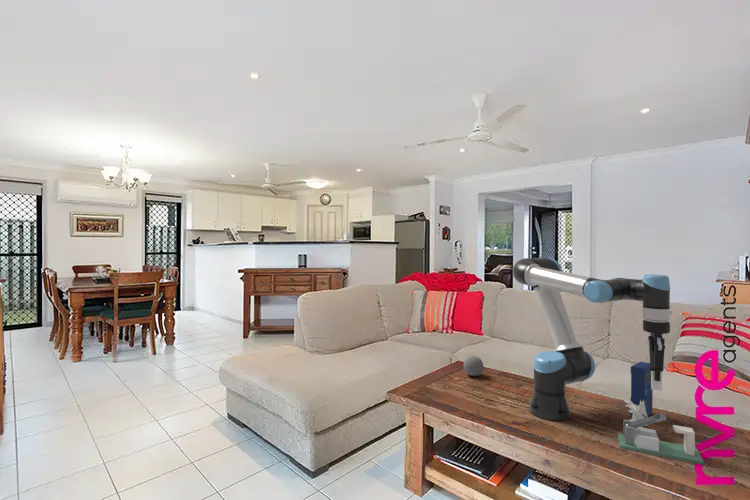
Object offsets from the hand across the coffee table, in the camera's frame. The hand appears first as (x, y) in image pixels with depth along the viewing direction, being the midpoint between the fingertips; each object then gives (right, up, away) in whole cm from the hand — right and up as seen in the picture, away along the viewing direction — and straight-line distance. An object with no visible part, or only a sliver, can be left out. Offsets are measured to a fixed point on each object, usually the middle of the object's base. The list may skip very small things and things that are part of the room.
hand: (656, 389), depth 135 cm
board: (-2, -19, -4) cm, 19 cm away
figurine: (-1, -18, +9) cm, 21 cm away
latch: (+4, -18, -7) cm, 19 cm away
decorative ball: (-45, -17, +68) cm, 84 cm away
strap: (-5, -11, -2) cm, 12 cm away
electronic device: (+9, -18, +22) cm, 30 cm away
